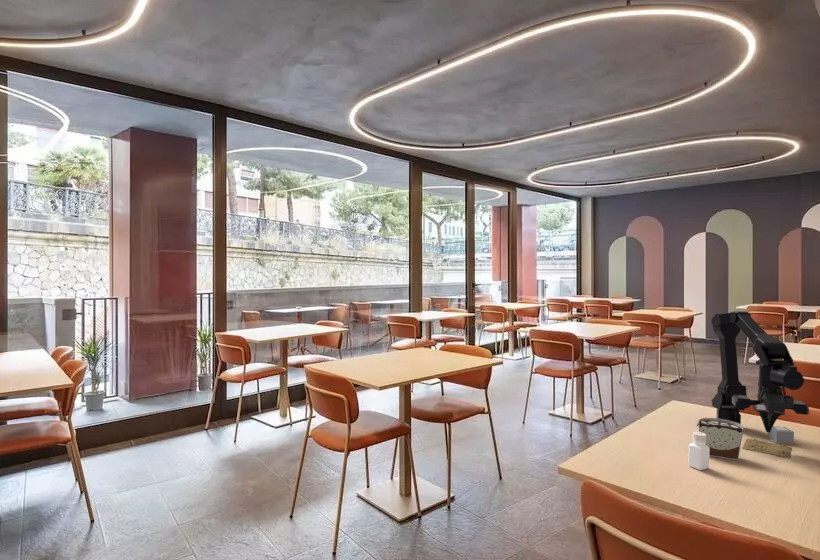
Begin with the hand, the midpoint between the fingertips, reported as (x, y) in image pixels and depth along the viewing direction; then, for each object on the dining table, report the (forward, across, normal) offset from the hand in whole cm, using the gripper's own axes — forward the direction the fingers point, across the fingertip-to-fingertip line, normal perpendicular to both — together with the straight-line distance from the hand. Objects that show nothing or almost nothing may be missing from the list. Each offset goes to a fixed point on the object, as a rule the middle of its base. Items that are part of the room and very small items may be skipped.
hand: (767, 431), depth 155 cm
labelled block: (+5, +6, +10) cm, 13 cm away
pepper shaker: (+5, -22, -26) cm, 34 cm away
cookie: (+6, 0, 0) cm, 6 cm away
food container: (+5, -15, -12) cm, 20 cm away
